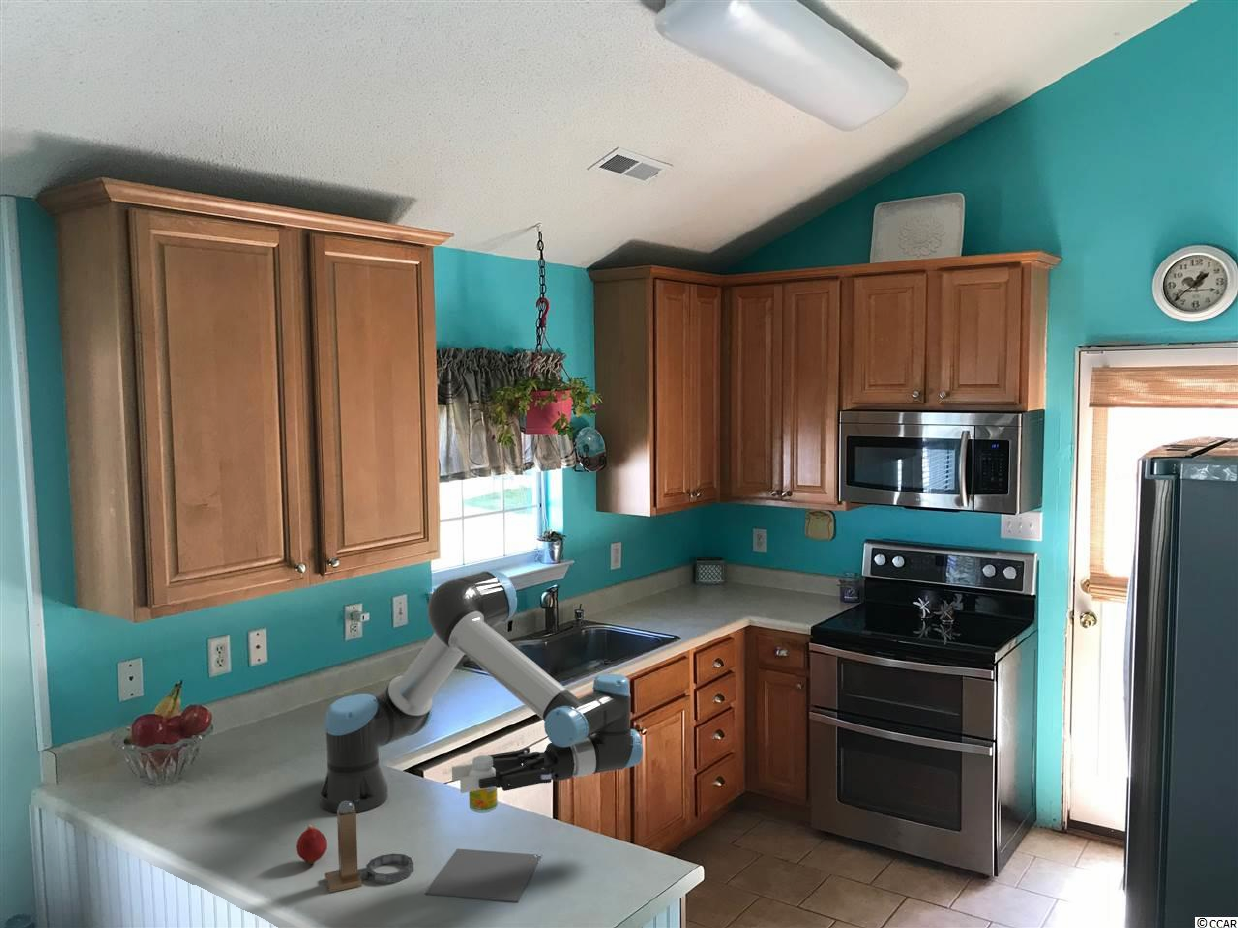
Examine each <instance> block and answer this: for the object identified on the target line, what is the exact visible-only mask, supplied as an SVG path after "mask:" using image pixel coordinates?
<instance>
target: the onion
mask: <svg viewBox="0 0 1238 928" xmlns="http://www.w3.org/2000/svg"><path fill="white" fill-rule="evenodd" d="M327 842H328V841H327V838H326V836H325V835H324V834H323V832H321V830H319V829H317V828H316V827H314V826H313V825H311V824H307V828H306V829H305V830H304V831H303V832H302V833H301V834H300V836H299V837H298V839H297V841H296V844H295V845H296V847H295V848H296V853H297V856H298V857H300V859H302V860H303V861H305V862H306V863H307V864H309V865H313V864H314V863H316V862H318V861H319V860H320V859H322V857H323V856H324V855H325V853H326V852H327V847H328V843H327Z"/></svg>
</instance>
